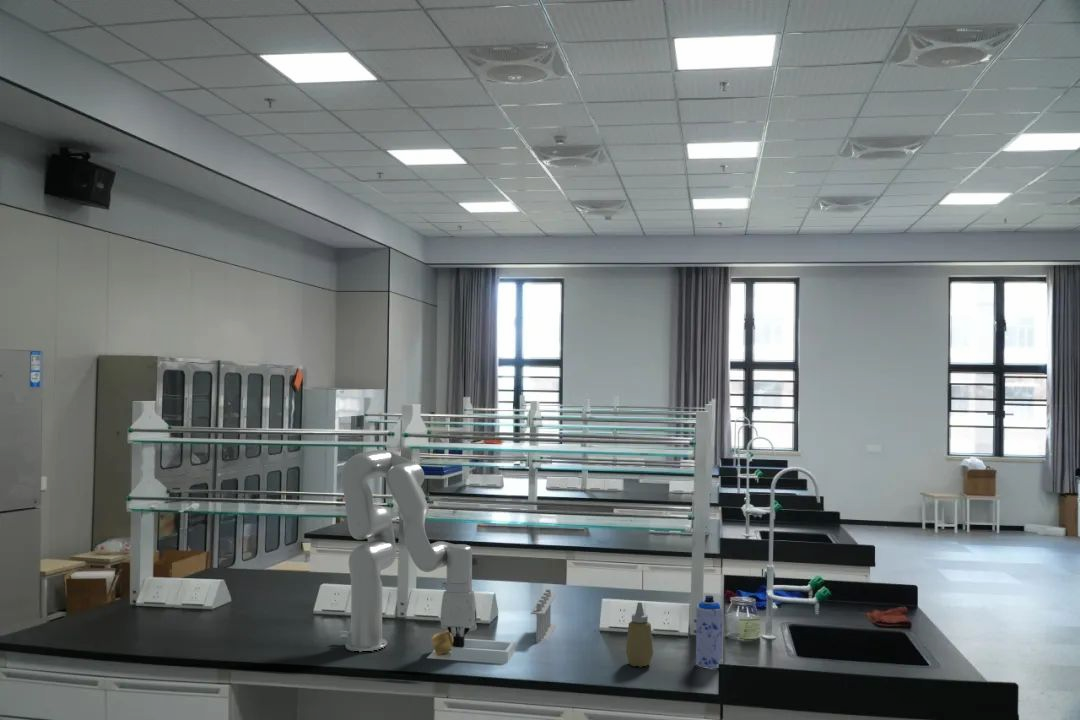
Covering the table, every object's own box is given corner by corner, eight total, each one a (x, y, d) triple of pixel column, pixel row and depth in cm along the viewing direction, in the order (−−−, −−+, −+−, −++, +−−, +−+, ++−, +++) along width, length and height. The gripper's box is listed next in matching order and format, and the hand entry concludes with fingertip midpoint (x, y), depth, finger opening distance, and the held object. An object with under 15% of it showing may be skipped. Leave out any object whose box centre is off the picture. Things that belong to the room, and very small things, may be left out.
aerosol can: (719, 660, 260) (719, 593, 261) (725, 669, 253) (726, 599, 253) (692, 660, 260) (693, 592, 260) (698, 669, 252) (698, 599, 253)
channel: (426, 663, 256) (426, 647, 256) (438, 650, 267) (439, 635, 268) (506, 669, 251) (506, 653, 251) (515, 655, 263) (515, 640, 263)
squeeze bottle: (651, 660, 260) (651, 599, 261) (655, 669, 252) (655, 606, 253) (623, 660, 260) (624, 599, 260) (627, 669, 252) (627, 606, 252)
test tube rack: (543, 625, 295) (543, 586, 295) (556, 626, 294) (556, 587, 295) (529, 648, 271) (530, 605, 271) (544, 649, 270) (544, 606, 270)
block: (436, 655, 258) (431, 639, 258) (440, 650, 263) (435, 634, 263) (452, 650, 258) (447, 634, 258) (455, 645, 263) (450, 629, 263)
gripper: (431, 588, 258) (430, 651, 258) (480, 591, 255) (480, 654, 255) (438, 582, 265) (438, 643, 265) (486, 585, 263) (486, 646, 262)
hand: (458, 649), depth 260 cm, fingers closed
